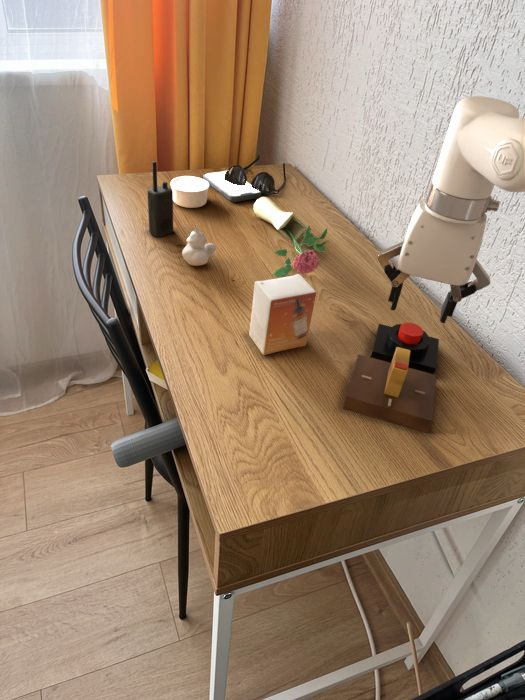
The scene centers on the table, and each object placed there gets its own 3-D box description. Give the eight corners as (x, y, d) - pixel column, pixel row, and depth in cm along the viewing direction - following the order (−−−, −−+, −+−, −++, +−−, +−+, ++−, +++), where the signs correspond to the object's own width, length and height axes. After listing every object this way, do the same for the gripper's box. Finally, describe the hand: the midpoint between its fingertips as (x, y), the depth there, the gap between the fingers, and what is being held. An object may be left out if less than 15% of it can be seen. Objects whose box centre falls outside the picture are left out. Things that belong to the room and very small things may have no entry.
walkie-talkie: (165, 226, 113) (163, 155, 103) (175, 232, 111) (174, 161, 101) (146, 232, 110) (143, 160, 100) (156, 238, 108) (154, 166, 99)
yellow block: (388, 372, 78) (397, 345, 75) (401, 375, 78) (411, 348, 74) (384, 394, 74) (393, 366, 71) (398, 398, 74) (408, 370, 71)
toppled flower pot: (275, 250, 124) (336, 305, 95) (227, 237, 119) (276, 290, 90) (292, 201, 120) (361, 242, 91) (243, 185, 115) (300, 224, 86)
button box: (435, 349, 88) (442, 330, 85) (432, 378, 82) (440, 359, 79) (376, 333, 90) (381, 314, 87) (369, 361, 84) (374, 342, 81)
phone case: (201, 179, 134) (231, 203, 124) (201, 173, 133) (232, 197, 123) (231, 175, 138) (263, 198, 128) (231, 169, 137) (263, 192, 127)
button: (421, 334, 85) (424, 325, 83) (419, 347, 82) (422, 338, 81) (398, 328, 85) (401, 320, 84) (396, 341, 82) (399, 332, 81)
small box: (262, 356, 82) (269, 300, 76) (248, 335, 86) (253, 280, 79) (307, 346, 85) (317, 291, 79) (291, 326, 89) (299, 272, 82)
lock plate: (431, 387, 80) (436, 374, 79) (427, 432, 73) (432, 419, 71) (354, 366, 83) (358, 353, 81) (342, 408, 75) (346, 395, 73)
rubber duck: (179, 257, 103) (179, 219, 98) (212, 254, 105) (213, 217, 100) (185, 271, 99) (185, 233, 94) (219, 268, 101) (221, 230, 96)
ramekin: (215, 199, 126) (216, 181, 123) (197, 212, 119) (198, 194, 116) (182, 190, 128) (182, 172, 125) (163, 203, 121) (163, 185, 118)
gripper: (522, 204, 70) (475, 313, 82) (393, 178, 73) (365, 286, 85) (526, 227, 65) (475, 340, 76) (387, 197, 68) (358, 310, 79)
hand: (418, 311), depth 80 cm, fingers open, 6 cm apart
